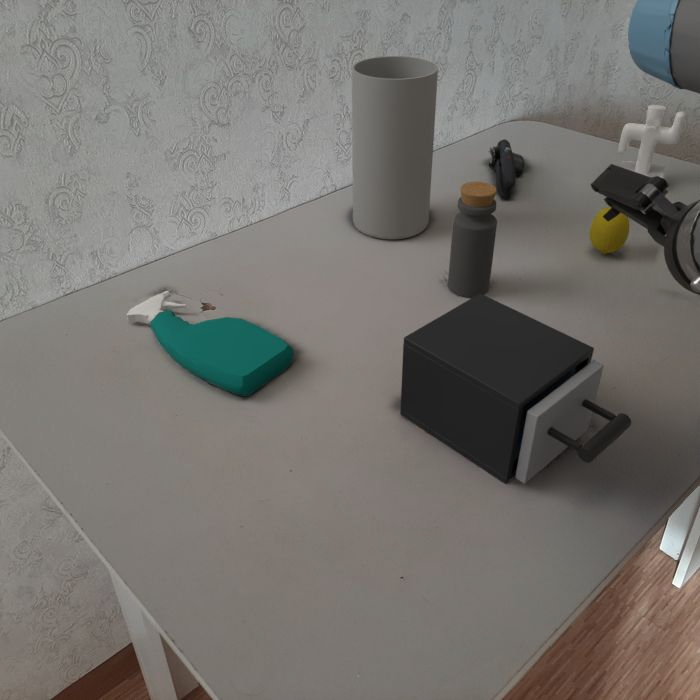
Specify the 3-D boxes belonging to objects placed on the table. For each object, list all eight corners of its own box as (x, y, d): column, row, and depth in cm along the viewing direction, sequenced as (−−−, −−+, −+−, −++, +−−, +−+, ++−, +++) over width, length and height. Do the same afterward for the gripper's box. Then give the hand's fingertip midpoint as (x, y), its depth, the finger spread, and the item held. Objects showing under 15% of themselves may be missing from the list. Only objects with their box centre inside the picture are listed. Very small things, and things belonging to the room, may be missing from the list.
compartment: (630, 453, 74) (651, 387, 68) (568, 512, 67) (586, 444, 62) (487, 373, 85) (495, 311, 79) (422, 418, 78) (427, 353, 73)
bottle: (439, 282, 103) (447, 184, 94) (473, 273, 105) (483, 176, 97) (462, 301, 99) (473, 201, 90) (497, 291, 101) (510, 192, 92)
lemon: (584, 259, 108) (594, 211, 104) (586, 243, 113) (596, 195, 108) (622, 265, 107) (634, 216, 102) (623, 248, 111) (635, 200, 106)
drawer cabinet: (575, 425, 78) (594, 347, 72) (505, 484, 72) (519, 403, 65) (471, 367, 87) (480, 292, 81) (400, 414, 80) (403, 337, 74)
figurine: (612, 178, 133) (630, 96, 124) (666, 186, 130) (688, 102, 121) (607, 193, 128) (625, 108, 119) (663, 201, 125) (686, 115, 116)
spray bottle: (238, 405, 82) (110, 331, 94) (303, 360, 88) (175, 297, 101) (235, 385, 80) (105, 312, 93) (301, 341, 87) (171, 279, 100)
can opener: (486, 162, 140) (489, 134, 136) (522, 164, 139) (527, 136, 136) (484, 200, 126) (488, 170, 122) (525, 203, 125) (529, 172, 121)
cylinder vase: (411, 247, 112) (419, 83, 97) (340, 232, 116) (337, 73, 102) (438, 215, 121) (449, 61, 106) (371, 202, 125) (373, 52, 111)
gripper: (561, 162, 52) (546, 198, 72) (824, 409, 49) (731, 373, 70) (640, 81, 50) (602, 141, 71) (916, 332, 48) (793, 318, 68)
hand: (666, 256), depth 70 cm, fingers open, 13 cm apart
